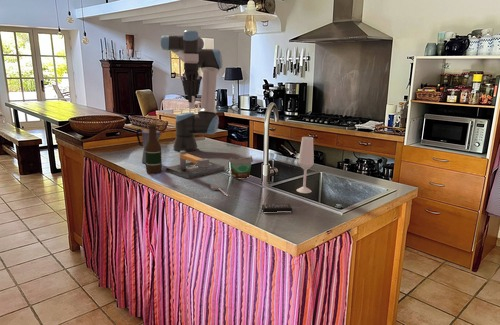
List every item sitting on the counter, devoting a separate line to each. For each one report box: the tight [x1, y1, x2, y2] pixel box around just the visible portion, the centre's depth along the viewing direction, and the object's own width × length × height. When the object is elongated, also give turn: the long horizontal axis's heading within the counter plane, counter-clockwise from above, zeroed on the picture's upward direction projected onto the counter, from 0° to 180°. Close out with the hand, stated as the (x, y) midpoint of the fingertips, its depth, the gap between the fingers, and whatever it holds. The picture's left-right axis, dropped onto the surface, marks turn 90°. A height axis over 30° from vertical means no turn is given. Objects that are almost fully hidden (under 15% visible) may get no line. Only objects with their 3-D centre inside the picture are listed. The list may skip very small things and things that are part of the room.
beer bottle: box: [145, 123, 163, 175], centre depth 185 cm, size 8×8×24 cm
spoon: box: [210, 183, 229, 197], centre depth 159 cm, size 4×21×2 cm, turn 32°
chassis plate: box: [165, 161, 226, 180], centre depth 192 cm, size 24×18×2 cm
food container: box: [228, 155, 254, 179], centre depth 181 cm, size 12×6×10 cm, turn 117°
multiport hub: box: [261, 203, 293, 213], centre depth 142 cm, size 4×11×2 cm, turn 97°
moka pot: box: [135, 128, 162, 164], centre depth 203 cm, size 10×15×20 cm, turn 79°
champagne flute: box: [296, 136, 315, 194], centre depth 163 cm, size 7×7×24 cm
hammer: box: [179, 151, 210, 170], centre depth 178 cm, size 20×5×9 cm, turn 42°
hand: (191, 108), depth 197 cm, fingers closed
